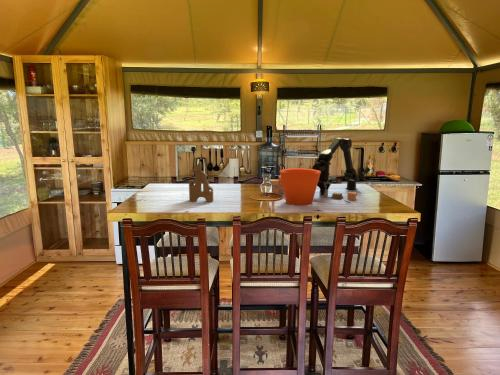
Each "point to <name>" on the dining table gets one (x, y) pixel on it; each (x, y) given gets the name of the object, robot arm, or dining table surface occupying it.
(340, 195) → the walnut base
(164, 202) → the dining table surface
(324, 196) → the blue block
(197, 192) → the wooden toy
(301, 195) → the flowerpot
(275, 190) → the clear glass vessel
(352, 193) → the terracotta block
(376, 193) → the dining table surface
